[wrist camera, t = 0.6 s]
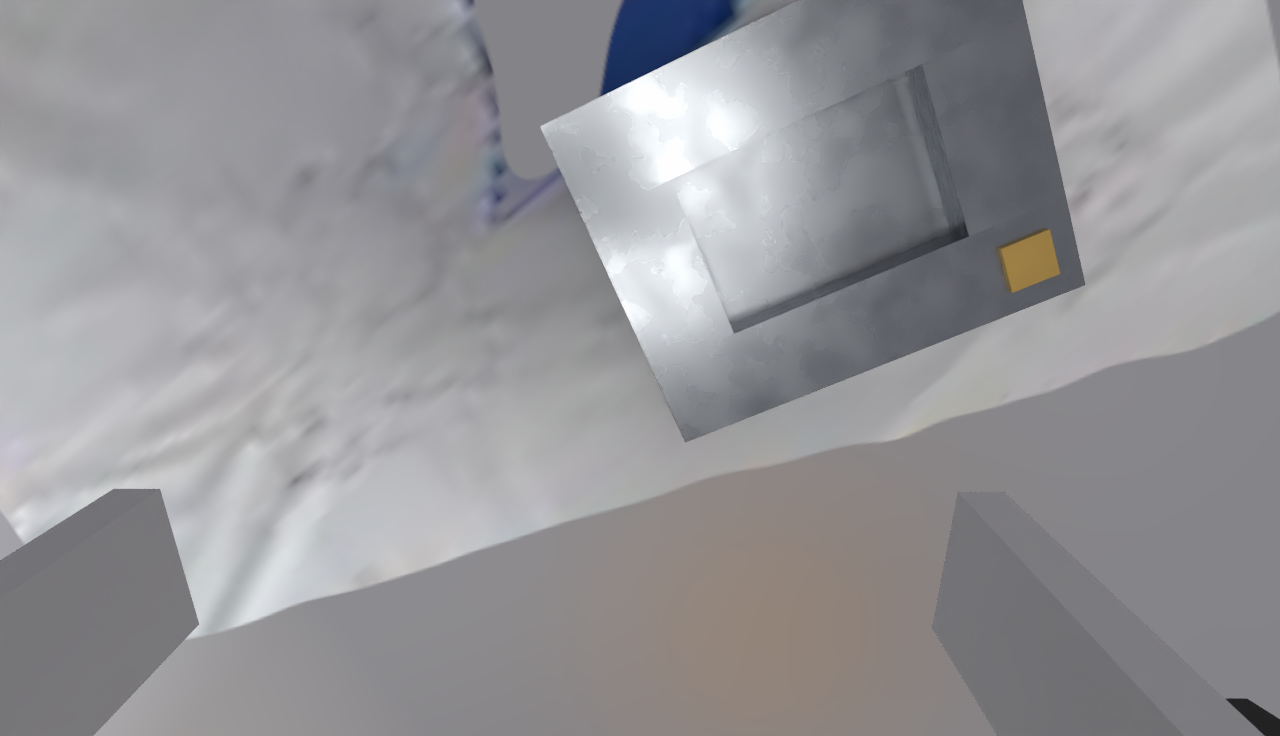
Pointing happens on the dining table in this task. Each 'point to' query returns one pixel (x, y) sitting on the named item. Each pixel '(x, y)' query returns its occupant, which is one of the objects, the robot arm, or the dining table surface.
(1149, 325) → the dining table surface
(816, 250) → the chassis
